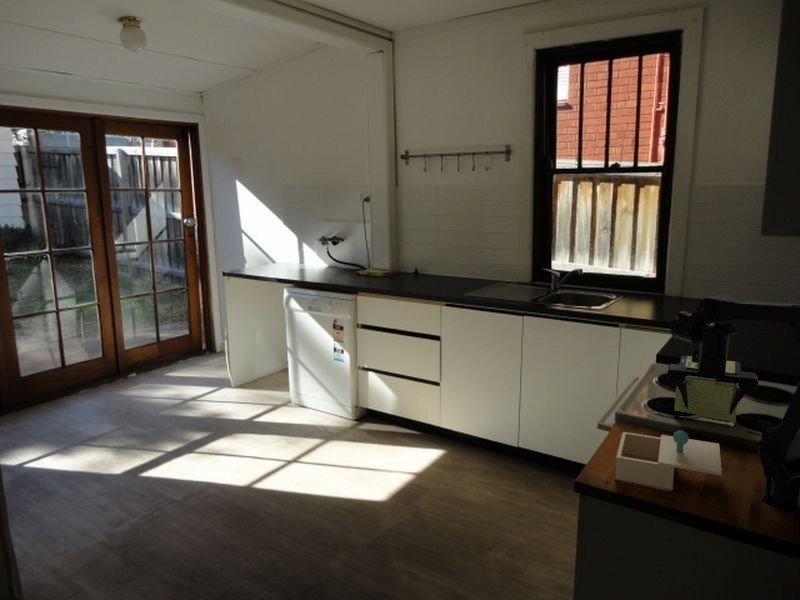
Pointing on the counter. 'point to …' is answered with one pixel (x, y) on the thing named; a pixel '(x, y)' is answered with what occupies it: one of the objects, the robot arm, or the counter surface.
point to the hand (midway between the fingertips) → (708, 410)
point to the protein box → (708, 394)
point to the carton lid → (689, 454)
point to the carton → (642, 462)
